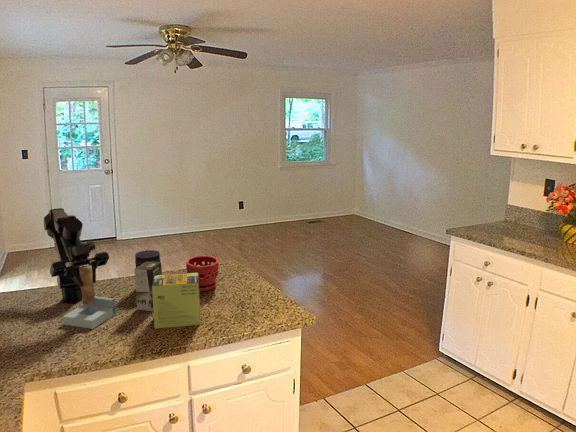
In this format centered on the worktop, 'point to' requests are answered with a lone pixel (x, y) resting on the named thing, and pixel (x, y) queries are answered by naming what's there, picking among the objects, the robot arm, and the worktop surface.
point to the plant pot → (204, 271)
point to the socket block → (91, 313)
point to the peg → (87, 284)
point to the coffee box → (146, 284)
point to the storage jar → (146, 257)
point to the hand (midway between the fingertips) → (88, 284)
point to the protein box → (176, 300)
